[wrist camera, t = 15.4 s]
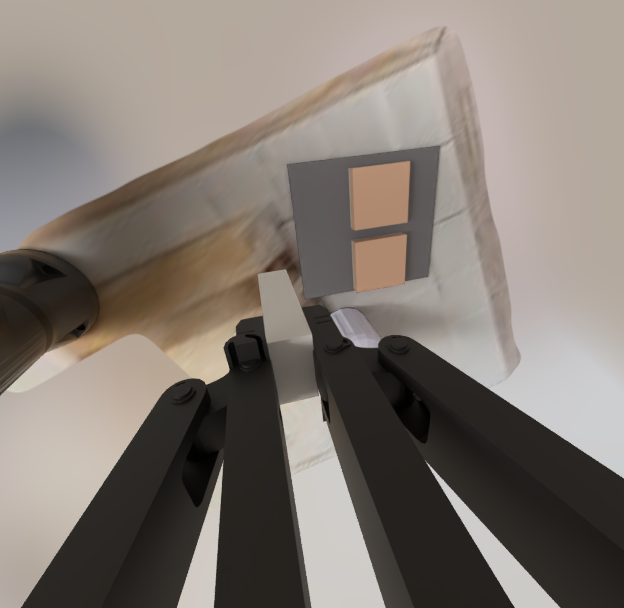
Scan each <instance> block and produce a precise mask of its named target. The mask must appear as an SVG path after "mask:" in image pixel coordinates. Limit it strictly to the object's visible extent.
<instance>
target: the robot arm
mask: <svg viewBox="0 0 624 608" xmlns="http://www.w3.org/2000/svg"><path fill="white" fill-rule="evenodd" d="M258 281H259V288H260V296H261V304H262V312H263V316H259V317H254V318H249V319H243V320H241V321H240V322H239V324H238V325H237V326H236V336H234V337H232V338H230V339H229V340H228V341H227V342H226V343H225V346H224V351H225V355H226V358H227V362H228V365H229V368H230V370H229V373H228V374H226V375H225V376H224V377H222V378H220V379H219V380H217V381H214V382H212V383H210V384H208V385H206V384H205V382H204V381H202V380H200V379H193V378H192V379H186V380H183V381H180V382H178V383H175V384H174V385H172V386H171V387H169V388H168V389H167V390H166V391H165V392H164V393H163V394H162V395H161V397H160V398H159V400H158V401H157V403H156V404H155V406H154V408H153V409H152V410H151V412H150V413H149V415H148V416H147V418H146V419H145V421H144V423H143V424H142V426H141V427H140V429H139V430H138V432H137V433H136V435H135V436H134V438H133V439H132V441H131V442H130V444H129V445H128V447H127V448H126V450H125V451H124V453H123V454H122V456H121V457H120V459H119V460H118V462H117V463H116V465H115V466H114V468H113V469H112V471H111V472H110V474H109V476H108V477H107V478H106V480H105V481H104V483H103V485H102V486H101V488H100V489H99V491H98V492H97V494H96V495H95V497H94V498H93V500H92V501H91V503H90V504H89V506H88V507H87V509H86V510H85V512H84V513H83V515H82V516H81V518H80V519H79V521H78V522H77V524H76V525H75V527H74V529H73V530H72V532H71V533H70V534H69V536H68V537H67V539H66V541H65V542H64V544H63V545H62V547H61V548H60V550H59V551H58V553H57V554H56V556H55V557H54V559H53V560H52V562H51V563H50V565H49V566H48V568H47V569H46V571H45V572H44V574H43V575H42V577H41V578H40V580H39V581H38V583H37V584H36V586H35V587H34V589H33V590H32V592H31V594H30V595H29V597H28V598H27V599H26V601H25V602H24V604H23V606H22V607H21V608H177V605H178V602H179V598H180V595H181V592H182V589H183V586H184V583H185V580H186V577H187V574H188V570H189V567H190V564H191V561H192V558H193V554H194V551H195V548H196V545H197V542H198V539H199V536H200V532H201V529H202V526H203V523H204V520H205V517H206V513H207V510H208V507H209V504H210V501H211V498H212V494H213V491H214V488H215V485H216V482H217V479H218V475H219V472H220V469H221V466H222V463H223V477H222V493H221V508H220V509H221V510H220V523H219V539H218V554H217V569H216V585H215V600H214V608H311V602H310V596H309V590H308V583H307V576H306V570H305V564H304V557H303V551H302V544H301V538H300V531H299V525H298V519H297V512H296V505H295V499H294V492H293V486H292V479H291V473H290V466H289V460H288V453H287V447H286V440H285V434H284V428H283V421H282V415H281V410H280V405H281V404H285V403H290V402H294V401H298V400H303V399H307V398H311V397H315V396H319V393H318V389H319V392H320V395H321V404H322V413H323V422H324V421H327V425H328V428H329V431H330V434H331V437H332V440H333V443H334V447H335V450H336V453H337V456H338V459H339V462H340V465H341V469H342V472H343V475H344V478H345V481H346V484H347V487H348V491H349V494H350V497H351V500H352V503H353V506H354V509H355V513H356V516H357V519H358V522H359V525H360V528H361V531H362V534H363V538H364V540H365V544H366V547H367V550H368V553H369V556H370V560H371V563H372V566H373V569H374V572H375V575H376V579H377V582H378V585H379V588H380V591H381V594H382V597H383V600H384V604H385V607H386V608H515V607H514V606H513V604H512V603H511V601H510V600H509V598H508V596H507V595H506V593H505V592H504V590H503V588H502V586H501V585H500V583H499V581H498V580H497V578H496V577H495V575H494V573H493V572H492V570H491V568H490V567H489V565H488V564H487V562H486V560H485V559H484V557H483V555H482V554H481V552H480V550H479V549H478V547H477V545H476V544H475V542H474V541H473V539H472V537H471V535H470V534H469V532H468V531H467V529H466V527H465V526H464V524H463V522H462V521H461V519H460V517H459V516H458V514H457V513H456V511H455V510H454V508H453V506H452V505H451V503H450V501H449V499H448V498H447V496H446V494H445V493H444V492H443V489H442V488H441V486H440V485H439V483H438V481H437V480H436V478H435V476H434V475H433V473H432V472H431V470H430V468H429V467H428V465H427V463H428V464H429V465H430V466H431V467H432V468H433V469H434V470H435V471H436V473H437V474H438V475H439V476H440V477H441V478H442V479H443V480H444V481H445V482H446V483H447V485H448V486H449V487H450V488H451V489H452V490H453V491H454V492H455V493H456V494H457V495H458V497H459V498H460V499H461V500H462V501H463V502H464V503H465V504H466V505H467V506H468V507H469V509H470V510H471V511H472V512H473V513H474V514H475V515H476V516H477V517H478V518H479V519H480V521H481V522H482V523H483V524H484V525H485V526H486V527H487V528H488V529H489V530H490V531H491V532H492V534H493V535H494V536H495V537H496V538H497V539H498V540H499V541H500V542H501V543H502V544H503V546H504V547H505V548H506V549H507V550H508V551H509V552H510V553H511V554H512V555H513V556H514V558H515V559H516V560H517V561H518V562H519V563H520V564H521V565H522V566H523V567H524V569H525V570H526V571H527V572H528V573H529V574H530V575H531V576H532V577H533V578H534V579H535V580H536V582H537V583H538V584H539V585H540V586H541V587H542V588H543V589H544V590H545V591H546V592H547V594H548V595H549V596H550V597H551V598H552V599H553V600H554V601H555V602H556V603H557V604H558V606H559V607H560V608H624V478H622V477H620V476H619V475H618V474H616V473H615V472H613V471H612V470H610V469H608V468H607V467H606V466H604V465H602V464H601V463H599V462H598V461H596V460H595V459H593V458H592V457H590V456H589V455H587V454H586V453H584V452H583V451H581V450H580V449H578V448H577V447H575V446H574V445H572V444H571V443H569V442H568V441H566V440H564V439H563V438H561V437H560V436H559V435H557V434H556V433H554V432H553V431H551V430H549V429H548V428H546V427H545V426H544V425H542V424H540V423H539V422H537V421H536V420H534V419H533V418H531V417H530V416H528V415H527V414H525V413H524V412H522V411H521V410H519V409H518V408H516V407H515V406H513V405H511V404H510V403H509V402H507V401H506V400H504V399H503V398H501V397H499V396H498V395H497V394H495V393H494V392H492V391H490V390H489V389H488V388H486V387H485V386H483V385H482V384H480V383H478V382H477V381H475V380H474V379H472V378H471V377H469V376H468V375H466V374H465V373H463V372H462V371H460V370H459V369H457V368H456V367H454V366H453V365H451V364H450V363H448V362H447V361H445V360H444V359H442V358H441V357H439V356H438V355H436V354H435V353H433V352H432V351H430V350H429V349H427V348H426V347H424V346H423V345H421V344H420V343H418V342H416V341H415V340H413V339H411V338H409V337H406V336H401V335H391V336H387V337H384V338H383V339H381V340H380V342H379V343H378V348H364V347H357V346H355V345H354V343H353V342H352V341H351V340H350V339H348V338H346V337H344V336H342V334H341V332H340V331H339V329H338V327H337V326H336V324H335V322H334V321H333V319H332V317H331V316H330V313H329V312H328V310H327V309H326V308H325V307H323V306H321V305H315V306H309V307H304V308H301V306H300V303H299V301H298V298H297V296H296V293H295V291H294V288H293V286H292V283H291V281H290V278H289V276H288V273H287V271H286V269H285V270H279V271H273V272H267V273H261V274H258ZM98 313H99V301H98V297H97V294H96V292H95V289H94V288H93V286H92V284H91V283H90V282H89V280H88V279H87V278H86V277H85V276H84V275H83V274H82V273H81V272H80V271H79V270H78V269H76V268H75V267H74V266H72V265H71V264H69V263H68V262H66V261H64V260H62V259H60V258H58V257H56V256H53V255H50V254H47V253H44V252H40V251H34V250H11V251H6V252H3V253H0V395H1V394H2V393H3V392H4V391H5V390H6V389H7V388H9V387H10V386H11V385H12V384H13V383H14V382H15V381H16V380H17V379H18V378H19V377H20V376H21V375H22V374H23V373H24V372H25V371H26V370H28V369H29V368H30V367H31V366H32V365H33V364H34V363H35V362H36V361H37V360H38V359H39V358H40V357H41V356H42V355H43V354H44V353H46V352H49V351H51V350H54V349H57V348H59V347H62V346H64V345H67V344H69V343H71V342H73V341H75V340H77V339H78V338H80V337H81V336H83V335H84V334H85V333H86V332H87V331H88V330H89V329H90V328H91V327H92V325H93V324H94V323H95V321H96V319H97V316H98ZM424 459H425V460H424ZM223 460H224V462H223ZM425 461H426V462H427V463H426V462H425Z"/></svg>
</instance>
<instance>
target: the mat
mask: <svg viewBox="0 0 624 608" xmlns="http://www.w3.org/2000/svg"><path fill="white" fill-rule="evenodd" d="M438 157H439V146H435V147H427V148H419V149H411V150H403V151H394V152H386V153H378V154H370V155H362V156H354V157H345V158H337V159H329V160H321V161H313V162H305V163H296V164H288V165H287V167H288V175H289V182H290V190H291V197H292V205H293V213H294V220H295V228H296V235H297V243H298V250H299V258H300V265H301V273H302V280H303V288H304V296H305V299H309V298H315V297H320V296H326V295H331V294H337V293H342V292H348V291H353V290H354V288H353V265H352V242H351V240H355V239H361V238H367V237H373V236H380V235H386V234H392V233H398V232H402V233H405V234H407V243H406V264H405V281H408V280H413V279H419V278H424V277H428V271H429V260H430V248H431V237H432V226H433V214H434V203H435V191H436V180H437V168H438ZM402 161H410V179H409V200H408V221H407V223H400V224H394V225H388V226H381V227H375V228H368V229H362V230H353V229H351V219H350V196H349V173H348V168H355V167H363V166H371V165H379V164H386V163H394V162H402Z"/></svg>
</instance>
